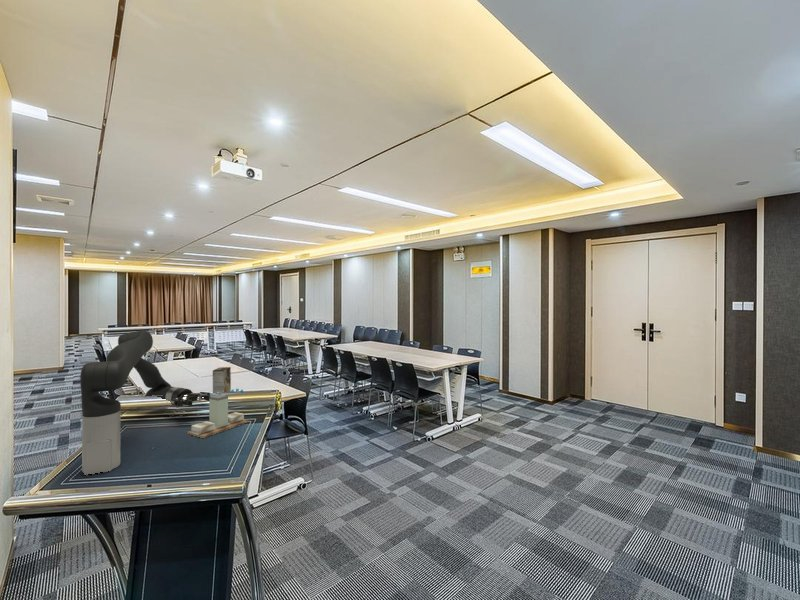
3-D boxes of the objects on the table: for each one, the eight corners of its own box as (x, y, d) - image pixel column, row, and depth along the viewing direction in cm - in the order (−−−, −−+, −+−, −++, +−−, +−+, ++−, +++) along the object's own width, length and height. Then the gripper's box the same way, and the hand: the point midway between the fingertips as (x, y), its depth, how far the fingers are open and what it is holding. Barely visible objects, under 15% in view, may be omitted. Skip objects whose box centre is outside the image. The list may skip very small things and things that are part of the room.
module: (218, 428, 143) (218, 398, 143) (209, 425, 145) (209, 396, 145) (228, 424, 147) (228, 395, 147) (219, 422, 149) (219, 394, 149)
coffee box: (219, 395, 198) (219, 367, 198) (231, 395, 199) (231, 366, 199) (212, 400, 189) (212, 370, 189) (224, 400, 189) (224, 369, 190)
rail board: (203, 438, 135) (203, 429, 135) (187, 434, 139) (187, 424, 139) (247, 423, 152) (247, 414, 152) (232, 419, 157) (232, 411, 157)
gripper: (162, 391, 153) (184, 396, 145) (194, 384, 166) (216, 388, 158) (162, 408, 153) (184, 414, 145) (194, 400, 166) (216, 405, 158)
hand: (201, 400), depth 152 cm, fingers open, 8 cm apart
